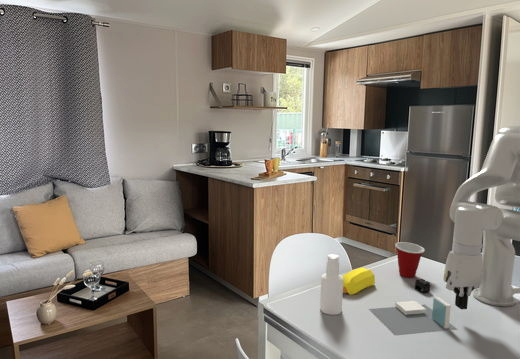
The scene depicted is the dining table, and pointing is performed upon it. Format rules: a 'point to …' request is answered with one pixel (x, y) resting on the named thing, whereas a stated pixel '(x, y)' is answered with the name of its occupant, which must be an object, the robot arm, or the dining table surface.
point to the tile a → (410, 307)
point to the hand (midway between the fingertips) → (460, 307)
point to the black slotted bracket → (422, 286)
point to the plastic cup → (408, 258)
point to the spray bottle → (331, 287)
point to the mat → (408, 321)
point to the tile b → (441, 312)
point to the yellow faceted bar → (357, 280)
